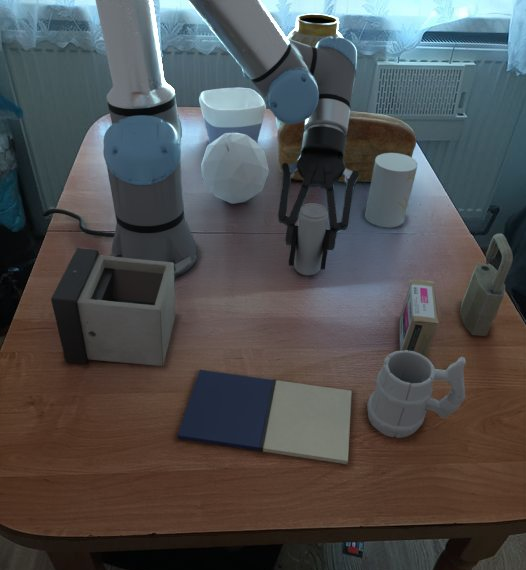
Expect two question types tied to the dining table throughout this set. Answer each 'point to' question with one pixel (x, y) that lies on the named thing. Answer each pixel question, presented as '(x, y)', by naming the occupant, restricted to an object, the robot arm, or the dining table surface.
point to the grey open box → (115, 309)
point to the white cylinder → (390, 189)
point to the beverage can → (310, 238)
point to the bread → (354, 142)
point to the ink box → (419, 318)
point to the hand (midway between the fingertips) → (306, 266)
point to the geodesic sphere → (234, 167)
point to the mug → (412, 393)
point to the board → (269, 416)
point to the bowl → (232, 112)
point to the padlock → (486, 289)
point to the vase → (313, 32)
